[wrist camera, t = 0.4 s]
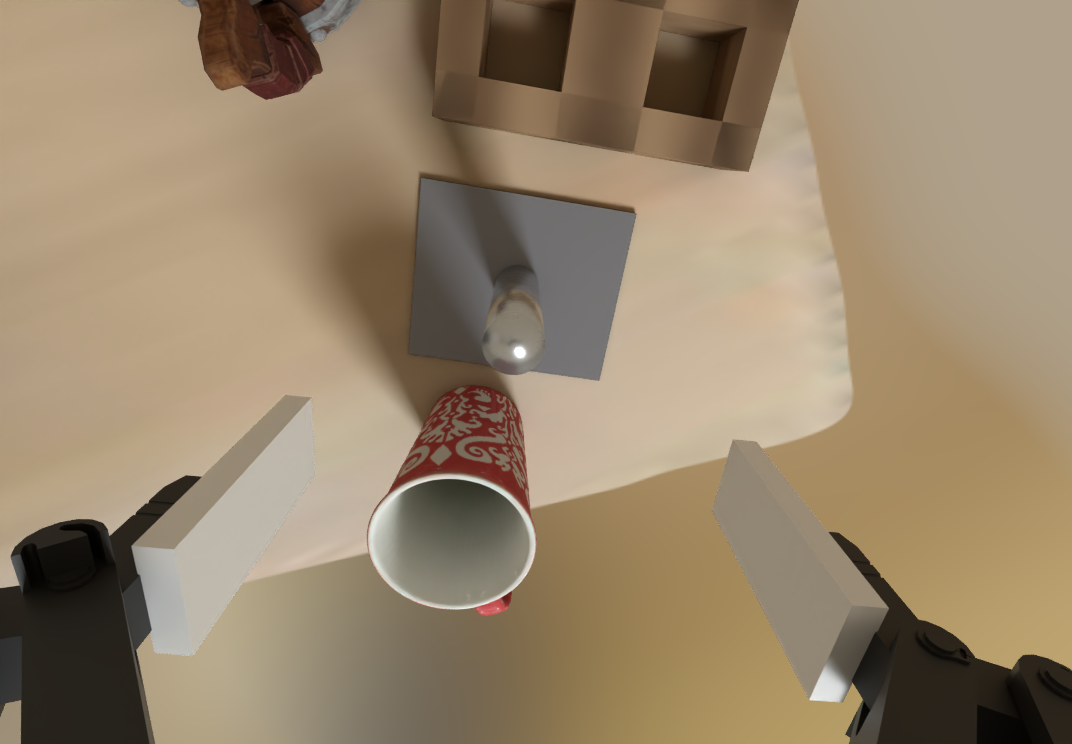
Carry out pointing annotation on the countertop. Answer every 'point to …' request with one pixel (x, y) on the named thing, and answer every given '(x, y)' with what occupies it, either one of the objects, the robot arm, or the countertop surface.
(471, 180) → the countertop surface
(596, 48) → the hole block
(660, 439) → the countertop surface
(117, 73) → the countertop surface
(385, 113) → the countertop surface
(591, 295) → the mat
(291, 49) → the mug
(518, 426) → the mug
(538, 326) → the peg
